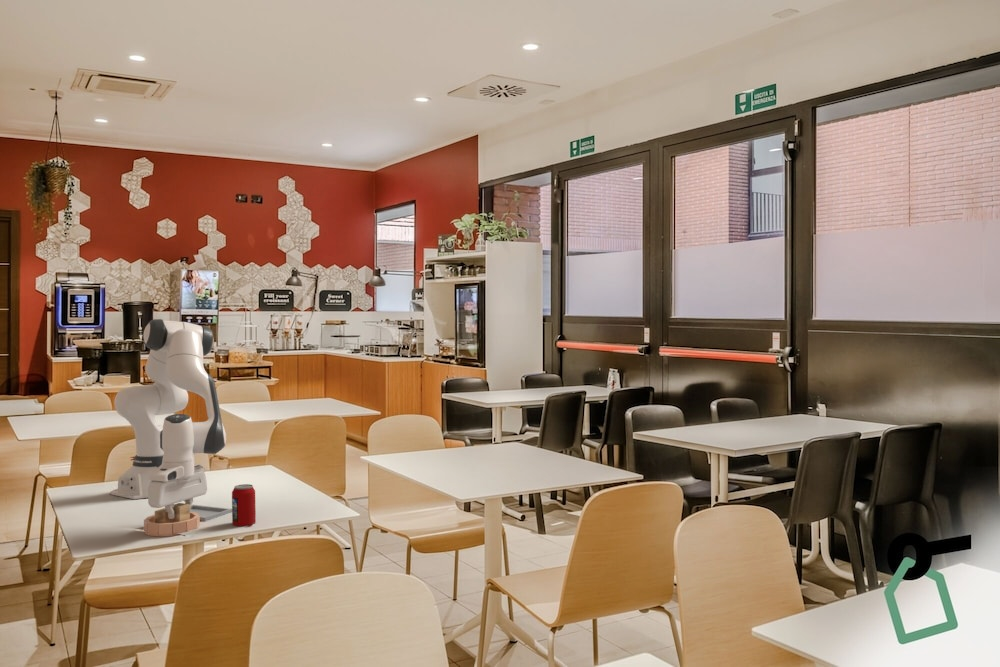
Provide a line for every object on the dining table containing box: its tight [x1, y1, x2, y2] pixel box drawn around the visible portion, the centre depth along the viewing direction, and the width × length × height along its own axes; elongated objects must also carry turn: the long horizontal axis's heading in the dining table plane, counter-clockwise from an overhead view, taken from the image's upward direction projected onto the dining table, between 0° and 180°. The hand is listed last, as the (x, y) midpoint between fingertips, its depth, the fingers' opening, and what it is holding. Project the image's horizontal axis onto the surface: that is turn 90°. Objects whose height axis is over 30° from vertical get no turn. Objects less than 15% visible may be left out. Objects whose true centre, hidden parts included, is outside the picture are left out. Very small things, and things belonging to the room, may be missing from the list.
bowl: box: [143, 512, 201, 538], centre depth 241 cm, size 15×15×4 cm
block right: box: [169, 502, 190, 523], centre depth 240 cm, size 4×4×5 cm
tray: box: [190, 504, 232, 522], centre depth 257 cm, size 16×12×2 cm
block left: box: [154, 507, 169, 523], centre depth 242 cm, size 4×4×5 cm
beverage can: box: [231, 483, 257, 528], centre depth 245 cm, size 7×7×12 cm
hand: (179, 516), depth 240 cm, fingers closed on block right, 4 cm apart
